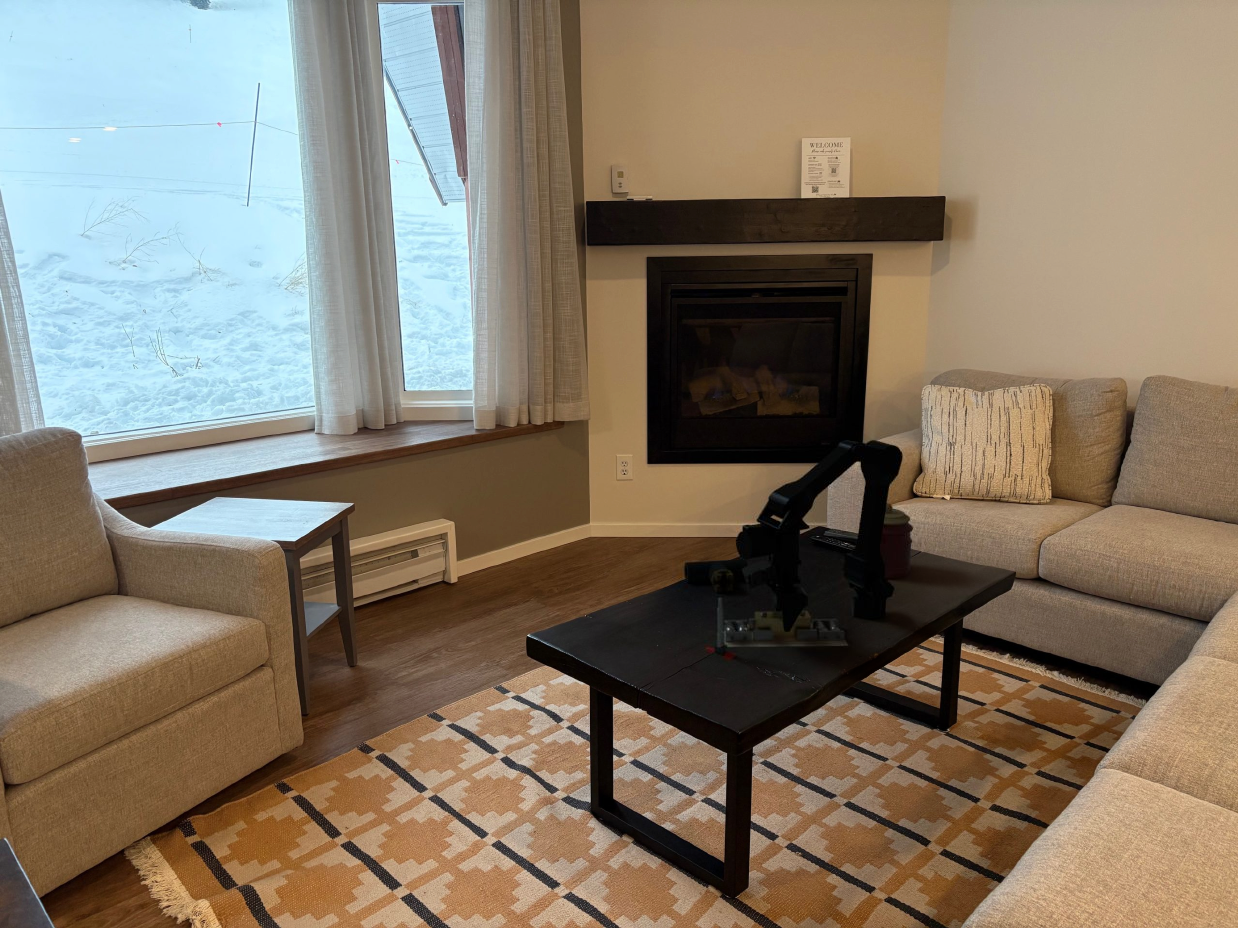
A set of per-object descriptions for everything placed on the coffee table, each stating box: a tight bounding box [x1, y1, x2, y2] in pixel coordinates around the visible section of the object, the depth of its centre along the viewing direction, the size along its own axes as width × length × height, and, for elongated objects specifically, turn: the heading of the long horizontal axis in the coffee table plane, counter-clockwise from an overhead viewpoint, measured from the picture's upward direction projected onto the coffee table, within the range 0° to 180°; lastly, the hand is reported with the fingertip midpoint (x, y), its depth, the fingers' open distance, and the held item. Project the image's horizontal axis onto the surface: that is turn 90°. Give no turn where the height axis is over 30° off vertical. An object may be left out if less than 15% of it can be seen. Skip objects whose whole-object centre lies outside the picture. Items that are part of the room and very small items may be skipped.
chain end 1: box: [724, 617, 773, 642], centre depth 186 cm, size 10×7×2 cm
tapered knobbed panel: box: [754, 610, 812, 638], centre depth 186 cm, size 11×4×5 cm, turn 91°
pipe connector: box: [683, 558, 749, 592], centre depth 217 cm, size 12×5×15 cm
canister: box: [858, 502, 914, 579], centre depth 223 cm, size 13×13×18 cm
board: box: [724, 623, 850, 648], centre depth 186 cm, size 25×11×1 cm, turn 90°
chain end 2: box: [796, 618, 846, 641], centre depth 186 cm, size 10×7×2 cm
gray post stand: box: [705, 597, 738, 661], centre depth 174 cm, size 8×13×9 cm
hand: (782, 622), depth 186 cm, fingers open, 9 cm apart
